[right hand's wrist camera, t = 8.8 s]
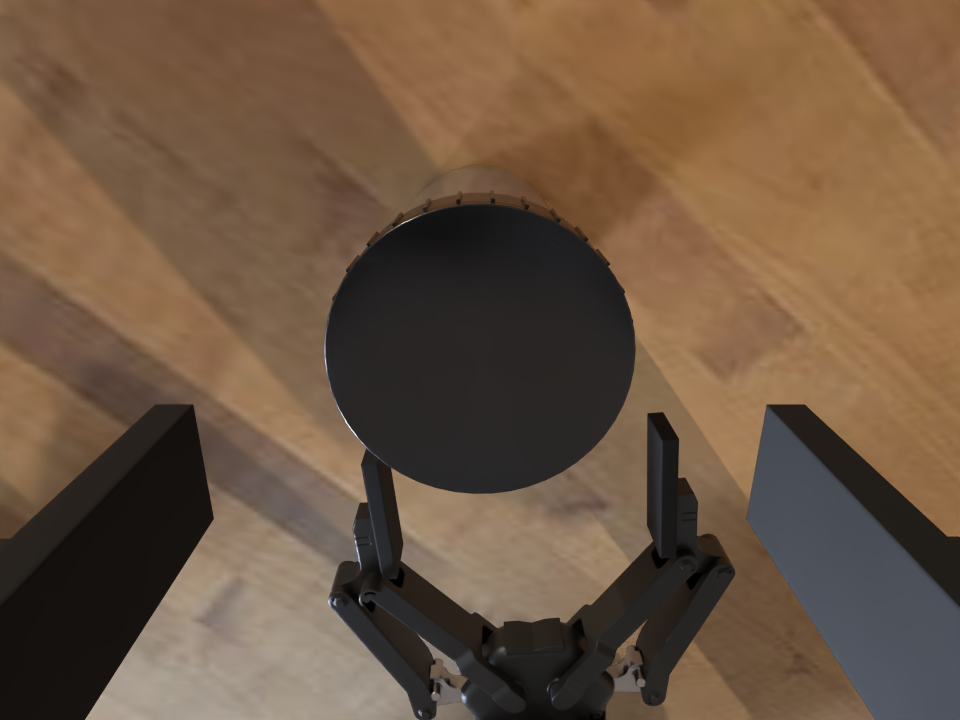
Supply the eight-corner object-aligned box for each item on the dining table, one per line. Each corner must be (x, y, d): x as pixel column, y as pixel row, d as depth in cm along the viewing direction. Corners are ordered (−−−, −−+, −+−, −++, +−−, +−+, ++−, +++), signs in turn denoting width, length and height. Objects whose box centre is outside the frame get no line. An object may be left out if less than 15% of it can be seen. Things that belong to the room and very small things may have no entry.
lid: (283, 349, 21) (259, 378, 19) (462, 122, 18) (460, 125, 16) (493, 502, 23) (494, 545, 21) (680, 318, 21) (704, 344, 18)
